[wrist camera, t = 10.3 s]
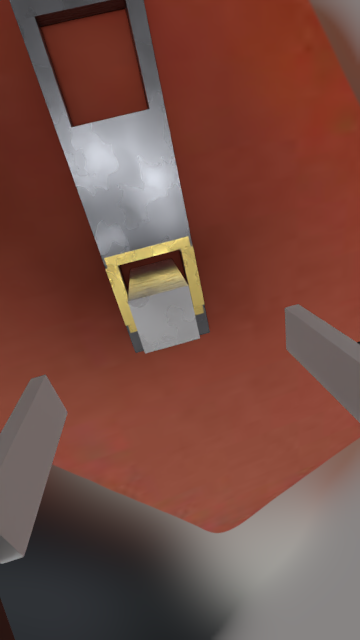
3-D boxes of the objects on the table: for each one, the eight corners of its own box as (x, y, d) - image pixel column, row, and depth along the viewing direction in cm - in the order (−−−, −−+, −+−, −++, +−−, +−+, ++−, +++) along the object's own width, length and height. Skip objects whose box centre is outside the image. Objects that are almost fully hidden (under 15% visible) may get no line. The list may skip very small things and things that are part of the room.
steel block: (130, 269, 28) (127, 301, 19) (171, 258, 28) (188, 285, 19) (142, 307, 30) (145, 353, 21) (180, 296, 30) (200, 338, 21)
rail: (-4, -45, 18) (-15, -64, 16) (126, -72, 18) (125, -92, 17) (135, 347, 32) (135, 353, 30) (207, 327, 32) (210, 333, 31)
